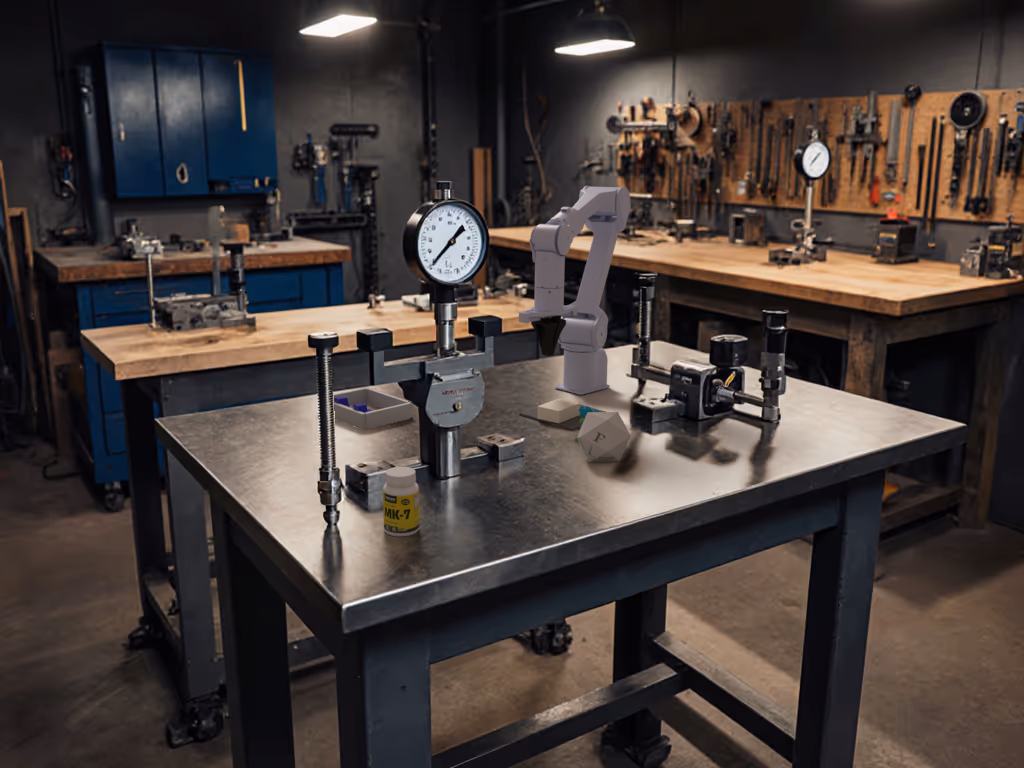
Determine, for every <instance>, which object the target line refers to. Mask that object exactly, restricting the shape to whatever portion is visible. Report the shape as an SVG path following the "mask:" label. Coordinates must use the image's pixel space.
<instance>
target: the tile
mask: <svg viewBox="0 0 1024 768" xmlns="http://www.w3.org/2000/svg"><path fill="white" fill-rule="evenodd" d="M580 405H581V402H577V401H572V400H568V399H563V398H557V399H554V400H550V401H548V402H545V403H543V404H541V405H537V407H536V408H537V419H542V420H546V421H550V422H555V423H561V422H564V421H566V420H569V419H571V418H574V417H576V416H578V415H579V413H580V412H579V408H580Z"/></svg>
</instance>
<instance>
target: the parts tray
mask: <svg viewBox="0 0 1024 768" xmlns="http://www.w3.org/2000/svg"><path fill="white" fill-rule="evenodd" d="M333 394H334V398H336V397H341V396H344V397H347V398H348V403H349V406H350V407H347V406H344V405H342V404H339V403H336V402H334V411H335V420H336V419H337V421H339V422H341V423H345V424H346V425H349V426H352V427H354V426H355V427H354V428H356V427H357V429H359V428H360V429H359V430H362V431H363V429H364V430H370V428H371V429H375V428H379V427H383V426H387V425H390V424H389V423H391V424H394V422H395V423H398V421H399V422H403V421H406V420H410V418H411V417H412V418H414V409H413V408H414V405H413V404H414V403H413V404H411V403H410V402H411V401H410V402H408V401H409V400H408V399H404V398H400V397H399V396H398V397H397V396H395V395H392V394H390V393H386V392H383V391H380V390H377V389H373V388H372V387H371V388H370V387H362V388H356V389H353V390H348V391H343V392H337V393H333ZM359 403H364V404H367V405H368V404H369V405H371V406H374V407H377V408H379V409H375V410H374V411H370V412H366V413H363V412H361V411H358V410H355V409H353V405H355V404H359ZM382 408H383V409H382ZM412 418H411V419H412ZM402 420H403V421H402ZM386 424H387V425H386ZM382 425H383V426H382ZM378 426H379V427H378ZM374 427H375V428H374Z"/></svg>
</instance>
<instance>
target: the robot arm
mask: <svg viewBox="0 0 1024 768" xmlns="http://www.w3.org/2000/svg"><path fill="white" fill-rule="evenodd" d="M629 191H630V190H628V188H627V187H626V186H614V187H613V186H590V185H585V186H583V188H582V189H580V190H579V195H578V196H579V197H578V200H577V202H576V203H574V205H573V206H572V207H571V206H562V207H561V208H560V211H559V212H558V213H556V214H555V215H554V216H553V217H551V218H550V220H548V221H547V222H546V223H538V225H536V226H535V227H533V229H532V231H531V233H530V238H529V247H530V250H531V253H532V263H534V305H533V306H532V307H531V308H529V309H527V310H523V311H519V312H518V322H519V323H522V324H530V325H531V326H532V328H533V330H534V331H535V334H536V336H537V339H538V343H539V347H540V350H541V351H540V352H541V355H543V356H547V357H552V356H554V355H555V351H556V348H557V345H559V344H560V349H563V375H562V376H563V379H562V383H561V384H556V385H554V388H555V389H558V390H561V391H564V392H569V393H572V394H577V395H579V396H581V395H585V394H589V393H593V392H597V391H602V390H605V389H608V388H610V387H611V385H610V384H607V383H608V360H609V359H608V355H607V352H606V351H605V349H604V348H603V346H604V345H605V343H606V341H607V335H608V324H609V317H608V315H607V314H606V312H605V311H604V310H603V309H602V308H601V307H600V304H601V302H602V298H603V297H602V296H603V293H604V288H605V285H606V282H607V278H608V275H609V270H610V267H611V262H612V259H613V255H614V251H615V249H616V248H615V247H616V243H617V240H618V236H619V234H620V233H621V232H623V231H624V230H625V229H626V226H627V222H628V219H629V215H630V211H631V205H632V203H631V195H630V192H629ZM584 227H585V228H587V230H589V231H591V232H593V237H592V241H591V245H590V248H589V252H588V255H587V260H586V264H585V266H584V270H583V274H582V278H581V282H580V286H579V289H578V292H577V297H576V300H575V301H573V302H572V303H570V304H567V305H565V303H564V301H565V299H564V298H565V268H566V267H565V266H566V265H565V261H566V254H567V255H568V253H569V251H570V248H571V246H572V243H573V241H574V239H575V237H577V235H579V234H580V233H581V232H582V231H583V229H584Z"/></svg>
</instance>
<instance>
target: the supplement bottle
mask: <svg viewBox="0 0 1024 768" xmlns="http://www.w3.org/2000/svg"><path fill="white" fill-rule="evenodd" d="M384 474H385V479H384V480H385V484H384V485H383V487H382V504H383V506H382V508H383V510H382V511H383V530H384V532H385V533H386V534H387V535H390V536H392V537H409V536H412V535H414V534H416V533H417V532H419V530H420V488H419V487H420V486H419V485H418V483H417V475H416V474H417V473H416V470H415V468H412V467H410V466H395V467H394V466H393V467H391V468H388V469H386V471H385V473H384Z"/></svg>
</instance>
